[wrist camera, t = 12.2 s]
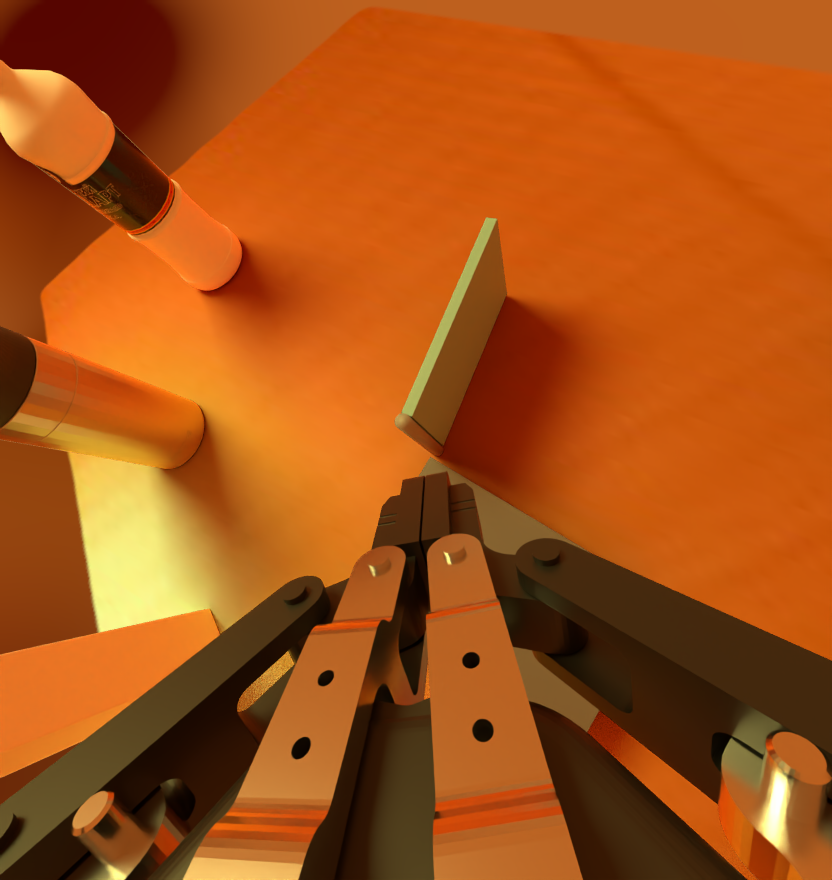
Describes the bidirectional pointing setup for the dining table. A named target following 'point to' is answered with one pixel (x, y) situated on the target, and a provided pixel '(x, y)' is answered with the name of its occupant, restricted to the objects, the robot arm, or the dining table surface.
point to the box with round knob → (507, 535)
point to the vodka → (112, 174)
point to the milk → (87, 682)
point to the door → (457, 344)
